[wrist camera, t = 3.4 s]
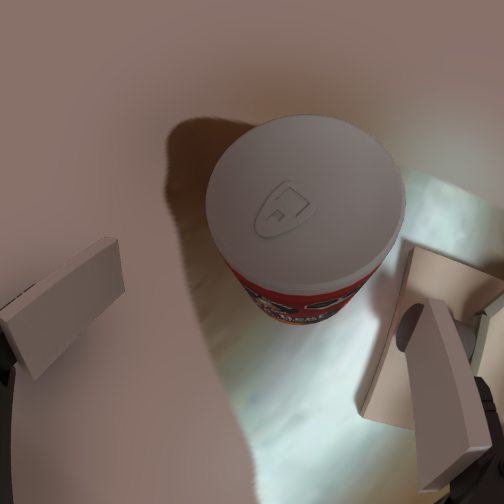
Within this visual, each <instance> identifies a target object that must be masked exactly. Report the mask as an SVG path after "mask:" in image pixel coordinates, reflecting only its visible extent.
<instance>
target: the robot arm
mask: <svg viewBox="0 0 504 504" xmlns="http://www.w3.org/2000/svg"><path fill="white" fill-rule="evenodd" d="M123 292H125V289H124V282H123V276H122V269H121V262H120V254H119V246H118V240H117V239H113V238H108V237H104V238H103V239H101V240H99V241H98V242H96V243H95V244H93V245H92V246H90V247H89V248H87V249H86V250H84V251H83V252H81V253H80V254H78V255H77V256H75V257H74V258H72V259H71V260H69V261H68V262H66V263H65V264H63V265H62V266H60V267H59V268H58V269H56V270H55V271H53V272H52V273H51V274H49V275H48V276H46V277H45V278H43V279H42V280H41V281H39V282H38V283H37V284H34V285H32V286H31V287H29V288H28V289H27V290H25V291H24V293H22V294H20V295H19V296H17V298H16V299H13V300H12V301H11V302H9V303H8V304H7V305H6V306H4V307H3V308H2V309H1V310H0V504H14V503H13V493H12V479H11V416H12V403H13V392H14V383H15V375H16V371H15V367H14V364H15V363H16V362H17V361H18V363H19V365H20V367H21V369H22V371H23V372H24V373H25V374H26V375H28V376H29V377H31V378H32V379H34V380H36V379H37V378H38V377H39V376H40V375H41V373H42V372H43V371H44V370H45V369H46V368H47V367H48V366H49V365H50V364H51V363H52V362H53V361H54V360H55V359H56V358H57V357H58V356H59V355H60V354H61V353H62V352H63V351H64V350H65V349H66V348H67V346H69V345H70V344H71V343H72V342H73V341H74V340H75V339H76V338H77V337H78V336H79V335H80V334H81V333H82V332H83V331H84V330H85V329H86V328H87V327H88V326H89V325H90V324H91V323H92V322H93V321H94V320H95V319H96V318H97V317H98V316H99V315H100V314H101V313H102V312H103V311H104V310H105V309H107V308H108V307H109V306H110V305H111V304H112V303H113V302H114V301H115V300H116V299H117V298H118V297H119V296H120V295H121V294H122V293H123ZM405 356H406V362H407V368H408V375H409V382H410V389H411V396H412V405H413V414H414V423H415V435H416V448H417V467H418V492H432V491H440V490H441V489H442V488H444V487H445V486H446V485H448V484H449V483H450V492H449V493H448V494H446V495H445V496H443V497H442V498H440V499H439V500H438V501H436V502H435V503H434V504H439V503H440V504H504V434H503V431H502V427H501V423H500V420H499V416H498V413H497V412H496V410H497V409H496V406H495V403H494V402H493V396H492V393H491V390H490V388H489V386H488V385H487V384H486V382H485V381H484V379H483V378H482V377H477V376H473V373H472V370H471V367H470V364H469V362H468V359H467V356H466V353H465V351H464V348H463V345H462V343H461V340H460V337H459V335H458V332H457V330H456V327H455V325H454V322H453V320H452V318H451V315H450V313H449V311H448V308H447V306H446V304H445V301H444V300H438V299H432V298H427V301H426V303H425V306H424V308H423V311H422V313H421V316H420V318H419V320H418V323H417V325H416V327H415V329H414V332H413V334H412V336H411V338H410V340H409V343H408V345H407V347H406V349H405Z"/></svg>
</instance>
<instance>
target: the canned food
mask: <svg viewBox="0 0 504 504" xmlns="http://www.w3.org/2000/svg"><path fill="white" fill-rule="evenodd" d="M405 205H406V198H405V188H404V183H403V180H402V177H401V174H400V171H399V168H398V166H397V165H396V163H395V161H394V159H393V158H392V156H391V154H390V153H389V152H388V151H387V150H386V149H385V148H384V146H383V145H382V144H381V143H380V142H379V141H378V140H377V139H376V138H374V137H373V136H372V135H371V134H369V133H368V132H367V131H365V130H363V129H361V128H359V127H358V126H356V125H354V124H352V123H350V122H347V121H344V120H341V119H338V118H335V117H330V116H324V115H315V114H300V115H291V116H285V117H281V118H277V119H274V120H270V121H268V122H265V123H263V124H261V125H259V126H257V127H255V128H253V129H251V130H250V131H248V132H247V133H245V134H244V135H242V136H241V137H239V138H238V139H237V140H236V141H235V142H234V143H233V144H232V145H231V146H230V147H229V148H228V149H227V150H226V151H225V153H224V154H223V155H222V157H221V158H220V159H219V161H218V162H217V164H216V166H215V168H214V170H213V172H212V175H211V177H210V179H209V184H208V188H207V192H206V216H207V220H208V225H209V229H210V232H211V235H212V238H213V240H214V242H215V244H216V246H217V248H218V250H219V252H220V254H221V255H222V257H223V258H224V260H225V262H226V263H227V265H228V266H229V268H230V269H231V270H232V272H233V273H234V274H235V276H236V277H237V279H238V280H239V281H240V283H241V284H242V285H243V287H244V288H245V290H246V291H247V292H248V294H249V295H250V296H251V298H252V299H253V300H254V302H255V303H256V304H257V305H258V307H259V308H260V309H261V310H262V311H264V312H265V313H266V314H267V315H269V316H270V317H272V318H274V319H276V320H278V321H280V322H284V323H288V324H292V325H307V324H314V323H317V322H320V321H323V320H326V319H328V318H329V317H331V316H333V315H334V314H336V313H337V312H338V311H339V310H341V309H342V308H343V307H344V306H345V305H346V304H347V303H348V302H349V301H350V299H351V298H352V297H353V296H354V295H355V294H356V293H357V292H358V291H359V289H360V288H361V287H362V286H363V285H364V284H365V283H366V281H367V280H368V279H369V278H370V277H371V276H372V275H373V273H374V272H375V271H376V270H377V269H378V267H379V266H380V264H381V263H382V262H383V260H384V259H385V258H386V256H387V255H388V253H389V251H390V250H391V248H392V247H393V245H394V244H395V241H396V239H397V237H398V234H399V231H400V229H401V226H402V223H403V220H404V214H405Z"/></svg>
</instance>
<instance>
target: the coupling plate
mask: <svg viewBox="0 0 504 504" xmlns="http://www.w3.org/2000/svg"><path fill="white" fill-rule="evenodd" d="M427 298H432V299H438V300H444V301H445V304H446V306H447V308H448V311H449V313H450V315H451V318H452V320H453V322H454V325H455V327H456V330H457V332H458V335H459V337H460V340H461V343H462V345H463V348H464V351H465V353H466V356H467V359H468V362H469V364H470V367H471V370H472V373H473V376H477V377H482V378H483V379H484V381H485V382H486V384H487V385H488V386H489V388H490V390H491V393H492V396H493V402H494V403H495V406H496V409H497V410H496V412H497V413H498V416H499V420H500V423H501V427H502V431H503V434H504V281H503V280H501V279H498V278H496V277H494V276H491V275H489V274H486V273H484V272H481V271H479V270H477V269H474V268H472V267H469V266H466V265H464V264H461V263H459V262H456V261H454V260H451V259H448V258H446V257H443V256H441V255H438V254H435V253H433V252H430V251H427V250H424V249H422V248H419V247H416V246H414V248H413V249H412V250H411V251H410V252H409V257H408V261H407V266H406V270H405V275H404V279H403V283H402V287H401V291H400V295H399V299H398V303H397V306H396V310H395V314H394V317H393V321H392V324H391V328H390V331H389V334H388V337H387V341H386V344H385V347H384V350H383V353H382V356H381V359H380V362H379V365H378V368H377V370H376V373H375V376H374V379H373V382H372V384H371V387H370V390H369V392H368V395H367V397H366V400H365V402H364V405H363V407H362V410H361V412H360V416H361V417H362V418H365V419H369V420H372V421H376V422H380V423H384V424H388V425H392V426H397V427H401V428H405V429H410V430H414V431H415V423H414V414H413V405H412V396H411V389H410V382H409V375H408V368H407V362H406V356H405V349H406V347H407V345H408V343H409V340H410V338H411V336H412V334H413V332H414V329H415V327H416V325H417V323H418V320H419V318H420V316H421V313H422V311H423V308H424V306H425V303H426V301H427Z"/></svg>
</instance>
